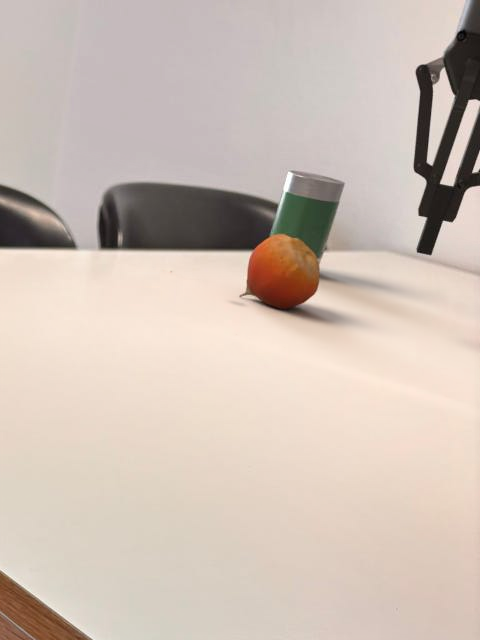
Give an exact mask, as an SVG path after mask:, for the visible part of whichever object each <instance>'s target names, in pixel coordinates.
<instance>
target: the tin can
mask: <svg viewBox="0 0 480 640" xmlns="http://www.w3.org/2000/svg"><path fill="white" fill-rule="evenodd" d="M345 185H346V182H344V181H342V180H340V179H336V178H333V177H329V176H325V175H320V174H316V173H311V172H306V171H301V170H288V171H287V175H286V179H285V183H284V186H283V189H282V191H281V194H280V198H279V201H278V205H277V209H276V212H275V215H274V220H273V222H272V226H271V230H270V233H269V237H271V236H273V235H277V234H285V235H287V236H289V237H291V238H298V239H300V240H301V241H303V242H304V243H305V245H306V246H307V247H308V248H310V249H311V250H312V251H313V252H314V254H315V255H316V257H317V260H318V262H319V265H320V264H321V261H322V258H323V256H324V253H325V250H326V247H327V244H328V240H329V238H330V235H331V231H332V228H333V225H334V222H335V219H336V215H337V212H338V209H339V206H340V200H341V198H342V195H343V191H344V188H345ZM269 237H268V238H269Z"/></svg>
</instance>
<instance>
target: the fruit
mask: <svg viewBox="0 0 480 640" xmlns="http://www.w3.org/2000/svg"><path fill="white" fill-rule="evenodd" d="M246 272H247V273H246V287H245V292H244V293H241V294H239V298H242V297H244V296H252V297H255V298H257V299H259V300H260V301H261V302H263V303H265V304H267V305H269V306H272V307H274V308H276V309H279V310H289V309H292V308H294V307H297V306H299V305H302V304H304V303H306V302H307V301H308V300H310V299H311V298H312V297H313V296H314V295H316V294H317V291H318V288H319V285H320V264H319V262H318V260H317V257H316V255H315V254H314V252H313V251H312V250H311V249H310V248H308V247H307V246H306V245H305V243H304V242H303V241H301V240H300V239H298V238H291V237H289V236H287V235H285V234H277V235H273V236H271V237H268V238H266V239H265V240H263V241H262V242H261V243H259V244H258V245H257V246H256V247H255V248H254V249H253V251H252V252H251V254H250V257H249V258H248V265H247V271H246Z"/></svg>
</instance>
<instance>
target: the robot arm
mask: <svg viewBox="0 0 480 640" xmlns="http://www.w3.org/2000/svg"><path fill="white" fill-rule="evenodd" d="M443 69H444V70H445V73H446V78H447V80H448V83H449V86H450V91H451V92H452V94H453V95H454V97H453V100H452V104H451V106H450V111H449V114H448V117H447V120H446V123H445V126H444V129H443V132H442V134H441V137H440V141H439V143H438V147H437V149H436V153H435V155H434V159H433V161H432V164H430V163H429V162H428V155H429V154H428V153H429V142H430V132H431V121H432V113H433V112H432V111H433V101H434V86H435V85H437V84H438V83H439V81H440V79H441V72H442V70H443ZM414 72H415V73H414V74H415V78H416V82H417V86H418V90H419V97H418V107H417V108H418V110H417V120H416V122H417V123H416V131H415V141H414V143H415V144H414V153H413V154H414V155H413V164H412V165H413V171H414V173H415V174H418V175H419V176H421V178H423V179H424V180H425V187H424V190H423V192H422V195H421V198H420V202H419V205H418V208H417V216H418V217H421V218H425V222H424V225H423V228H422V230H421V233H420V236H419V240H418V243H417V246H416V250H415V251H416V254H422V255H427V256H432V254H433V252H434V249H435V246H436V244H437V240H438V237H439V234H440V231H441V229H442V225H443V223H444V222H448V223H453V222H454V221H455V220H456V218H457V216H458V213H459V210H460V208H461V205H462V202H463V199H464V196H465V194H466V192H467V190H469V189H470V188H474V187H480V168H479V169H478V171H475V172H473V171H474V169H475V165H476V162H477V160H478V157H479V154H480V105H479V107H478V109H477V113H476V117H475V120H474V121H473V125H472V128H471V131H470V134H469V137H468V139H467V143H466V146H465V149H464V152H463V154H462V158H461V161H460V164H459V166H458V170H457V172H456V176H455V178H454V182H453V185H449V184H448V185H447V184H444V183H441V182H442V179H443V177H444V175H445V171H446V168H447V165H448V162H449V159H450V156H451V154H452V150H453V148H454V144H455V141H456V138H457V135H458V133H459V129H460V128H461V123H462V121H463V117H464V115H465V112H466V110H467V108H468V104H469V101H474V100H475V101H478V102H480V0H465V3H464V6H463V8H462V12H461V15H460V18H459V21H458V25H457V27H456V31H455V33H454V36H453V39H452V41H451V42H450V43H449V44H448V46H447V47H446V48H445V49H444V51H443V54H442V56H440V57H438V58H436V59H434V60H432V61H429V62H428V63H421V64H419V65H418V66H417V67H416V68H415V71H414Z"/></svg>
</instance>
